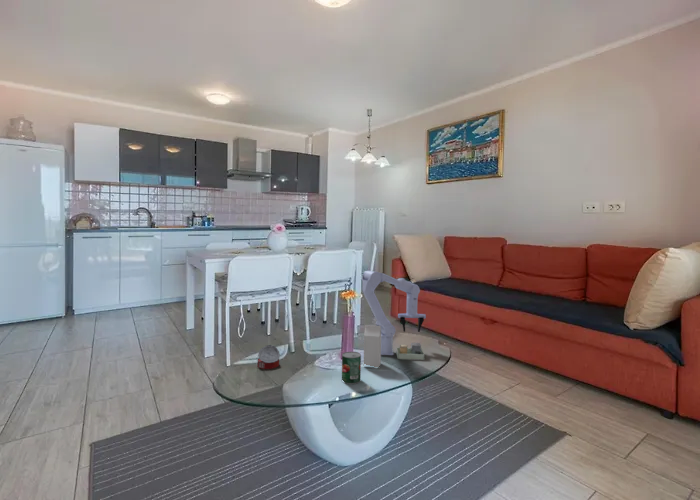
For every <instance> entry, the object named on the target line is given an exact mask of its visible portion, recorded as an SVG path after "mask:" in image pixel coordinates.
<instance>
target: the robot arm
mask: <svg viewBox="0 0 700 500" xmlns="http://www.w3.org/2000/svg"><path fill="white" fill-rule="evenodd" d="M361 281H362V286H361V287H362V290H361V291H362V294H363V296H364V298H365V299H366V302H367V304H368V306H369V307H370V310H371V312H372V315H373V316H374V318H375V320H376V321H375V326H381V356H394V355H395V353H394V350H393V348H394V347H393V343H394V341H393V338H394V335H395V334H396V327H395V326H394V325H393V324H392V323H391V321H390V320H389V319H388V318H387V316H386V314H385V312H384V310H383V308H382V306H381V303H380V301H379V299H378V297H377V294H376V293H375V290H376V288H377V287H378V286H379V285H380V283H383V282H386V283H387V284H391V285H392V286H393V285H394V288H396V290H399V291H401V292H404V293H405V294H406V312H404V313H398V314H397V318H398V319H399V320H400V322H401V325H402V330H403V333H405V332H406V319H417V332H418V333H420V331H421V328H422V325H423V323H424V322H425V320H426V316H427V315H426V313H418V304H419V303H418V298H419V294H420V292H421V289H420V286H418V284H416V283H412V281H411V280H410V281H408V280H406V278H403V277H401V278H395V277H392V275H391V276H390V275H388V274H386V273H383V272H379V271H374V270H370V269H367V270H365V271H364V272H363V274H362V276H361Z"/></svg>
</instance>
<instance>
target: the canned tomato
mask: <svg viewBox="0 0 700 500" xmlns="http://www.w3.org/2000/svg"><path fill="white" fill-rule="evenodd" d="M341 355H342V356H341V381H342V380H343V381H344V382H345V383H344V384H346V383H347V385H356V384H359V383H361V381H360V380H361V377H362V376H361V371H362V370H361V368H362V363H361V361H362V354H361V353H360V352H356V351H345V352H343V353H342V354H341Z"/></svg>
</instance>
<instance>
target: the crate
mask: <svg viewBox="0 0 700 500" xmlns="http://www.w3.org/2000/svg"><path fill="white" fill-rule="evenodd" d="M395 350H396V351H395V353H396V357H397V360H409V361H410V360H413V361H414V360H415V361H416V360H419V361H425V359H426V357H425V352H424V350H423V349H422V347H421V354H411V347H407V354H400V347H396V348H395Z"/></svg>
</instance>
